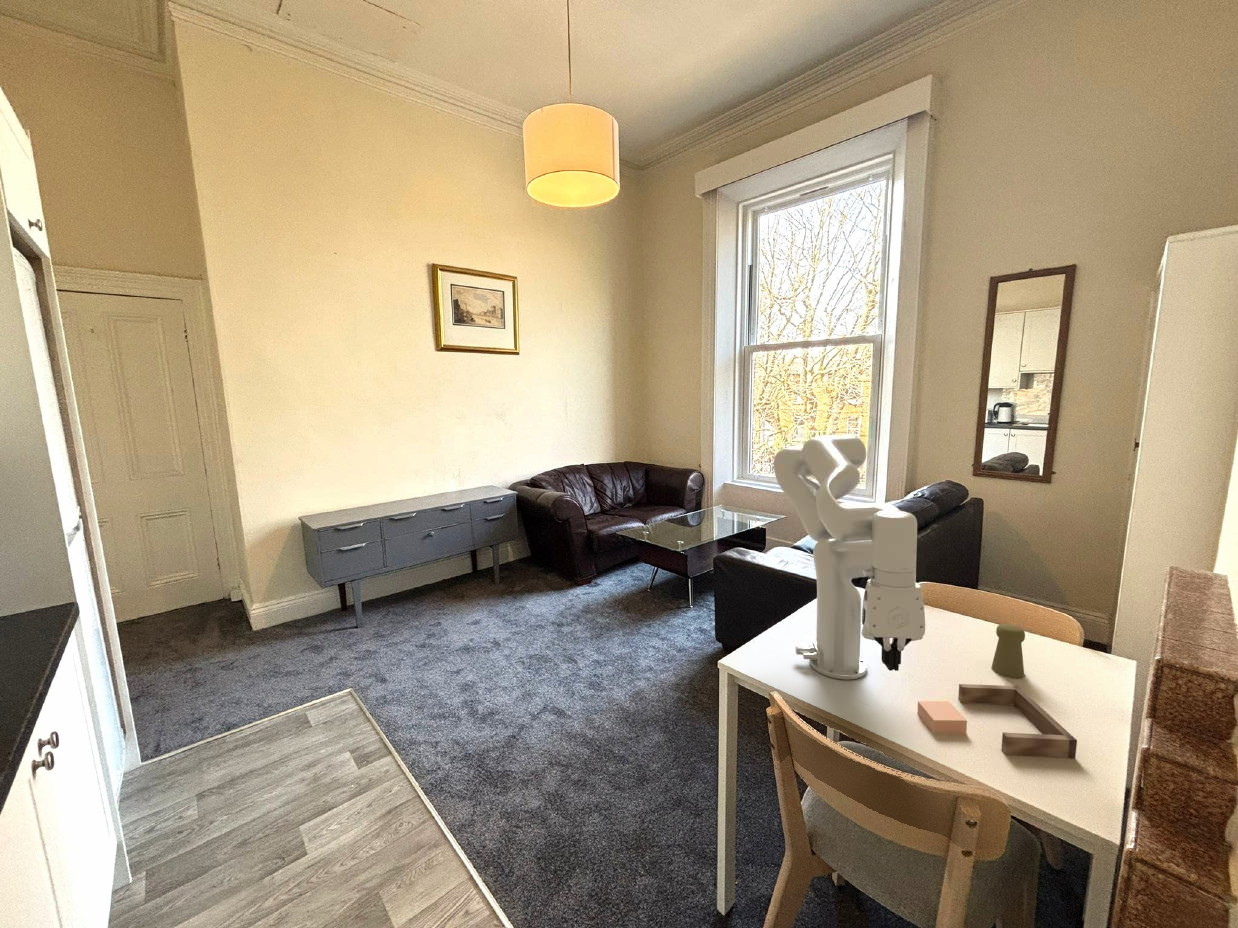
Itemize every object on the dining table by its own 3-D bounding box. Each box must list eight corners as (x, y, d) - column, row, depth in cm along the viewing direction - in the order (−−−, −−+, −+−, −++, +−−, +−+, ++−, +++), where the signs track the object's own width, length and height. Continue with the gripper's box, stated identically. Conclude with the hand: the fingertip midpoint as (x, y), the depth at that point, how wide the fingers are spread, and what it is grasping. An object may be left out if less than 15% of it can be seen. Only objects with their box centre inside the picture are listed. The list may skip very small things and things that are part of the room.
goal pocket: (1005, 754, 91) (1006, 736, 91) (958, 699, 107) (959, 683, 107) (1075, 758, 90) (1077, 740, 89) (1016, 701, 106) (1018, 685, 105)
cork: (1030, 679, 113) (1034, 632, 111) (999, 677, 114) (1002, 631, 113) (1015, 665, 119) (1018, 620, 117) (986, 663, 120) (989, 619, 118)
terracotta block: (933, 734, 98) (934, 720, 97) (917, 714, 103) (918, 700, 103) (966, 734, 97) (967, 720, 97) (948, 714, 103) (949, 701, 103)
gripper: (857, 582, 94) (856, 676, 97) (945, 583, 92) (941, 678, 95) (845, 569, 102) (844, 656, 104) (926, 569, 100) (923, 658, 102)
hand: (890, 666), depth 99 cm, fingers closed
